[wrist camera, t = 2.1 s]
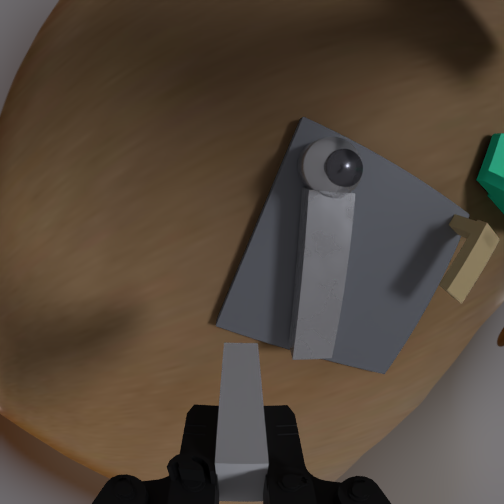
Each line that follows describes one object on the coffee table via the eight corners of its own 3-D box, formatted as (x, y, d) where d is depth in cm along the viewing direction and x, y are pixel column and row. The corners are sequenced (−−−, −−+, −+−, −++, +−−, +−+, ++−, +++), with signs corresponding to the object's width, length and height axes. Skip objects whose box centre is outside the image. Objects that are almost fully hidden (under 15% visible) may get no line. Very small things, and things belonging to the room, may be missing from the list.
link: (298, 137, 25) (313, 130, 20) (351, 142, 25) (377, 138, 20) (283, 343, 31) (291, 377, 25) (329, 342, 31) (343, 374, 26)
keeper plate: (300, 119, 26) (319, 104, 19) (462, 212, 29) (504, 226, 22) (216, 318, 32) (210, 360, 25) (381, 367, 35) (403, 404, 28)
